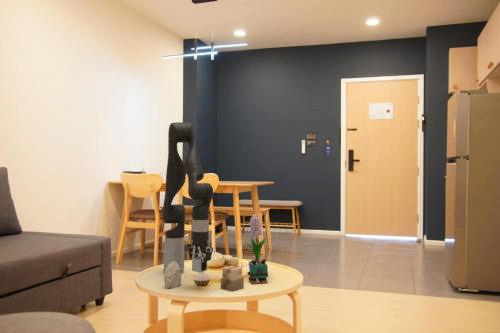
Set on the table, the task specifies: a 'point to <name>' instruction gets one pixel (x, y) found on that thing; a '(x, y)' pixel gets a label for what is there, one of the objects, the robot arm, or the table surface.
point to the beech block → (232, 273)
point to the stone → (172, 275)
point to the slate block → (197, 264)
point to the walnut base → (232, 284)
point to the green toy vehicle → (258, 272)
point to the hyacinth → (256, 232)
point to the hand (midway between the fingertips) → (199, 269)
